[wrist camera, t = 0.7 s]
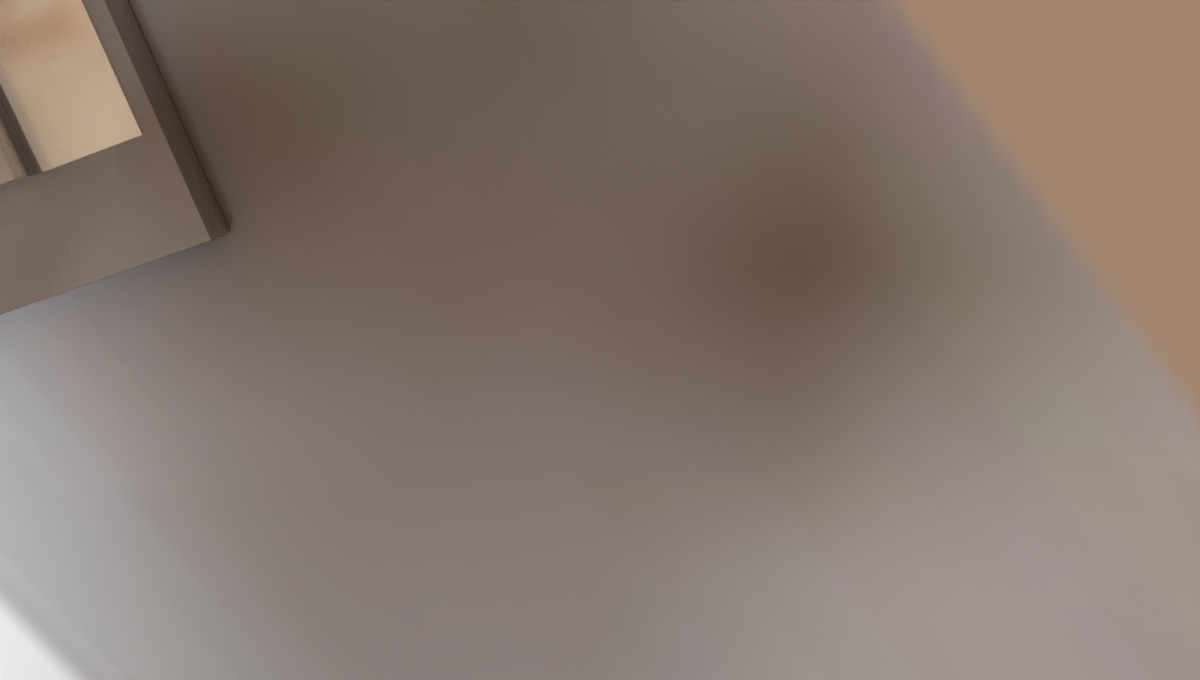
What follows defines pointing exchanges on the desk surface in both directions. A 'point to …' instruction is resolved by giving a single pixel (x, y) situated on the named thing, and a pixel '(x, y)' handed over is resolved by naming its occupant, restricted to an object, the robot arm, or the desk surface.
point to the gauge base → (89, 152)
